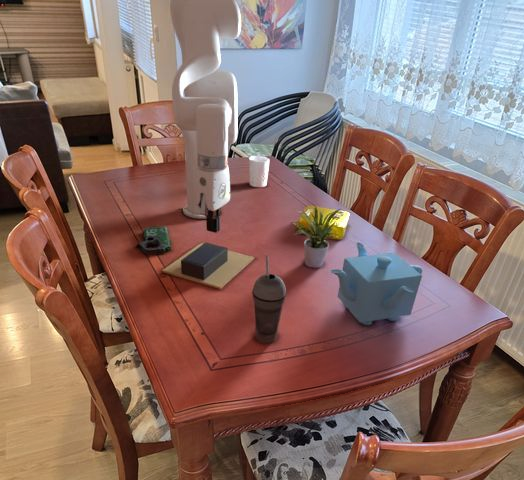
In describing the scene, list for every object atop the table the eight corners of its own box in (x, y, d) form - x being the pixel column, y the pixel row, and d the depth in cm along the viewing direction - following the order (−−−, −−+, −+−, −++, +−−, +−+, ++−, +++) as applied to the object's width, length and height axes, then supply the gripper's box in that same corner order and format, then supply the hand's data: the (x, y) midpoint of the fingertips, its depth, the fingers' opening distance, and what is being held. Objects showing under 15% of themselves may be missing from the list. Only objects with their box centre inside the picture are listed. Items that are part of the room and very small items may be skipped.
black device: (205, 241, 132) (180, 260, 122) (227, 247, 130) (203, 266, 120) (206, 255, 134) (181, 273, 125) (227, 260, 132) (203, 280, 123)
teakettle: (415, 305, 120) (431, 252, 111) (399, 342, 107) (415, 286, 98) (345, 285, 126) (355, 234, 117) (321, 319, 112) (330, 264, 103)
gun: (134, 227, 145) (167, 225, 147) (135, 231, 145) (167, 230, 148) (136, 250, 132) (172, 248, 134) (137, 255, 133) (172, 253, 135)
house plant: (313, 246, 144) (320, 194, 134) (348, 263, 137) (358, 208, 127) (281, 259, 136) (286, 205, 126) (317, 278, 128) (325, 221, 118)
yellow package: (305, 216, 163) (307, 203, 160) (348, 223, 160) (350, 210, 157) (296, 233, 151) (297, 219, 148) (342, 241, 149) (344, 226, 146)
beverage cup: (271, 350, 102) (278, 268, 89) (243, 338, 104) (246, 257, 92) (287, 334, 107) (296, 255, 94) (260, 323, 109) (266, 245, 97)
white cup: (267, 188, 184) (269, 162, 177) (247, 187, 183) (248, 161, 177) (267, 182, 190) (269, 156, 184) (248, 180, 190) (249, 155, 183)
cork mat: (200, 244, 141) (200, 242, 140) (254, 259, 135) (254, 257, 135) (162, 272, 126) (162, 270, 126) (220, 289, 121) (220, 287, 120)
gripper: (210, 171, 109) (211, 244, 120) (239, 156, 119) (238, 224, 131) (183, 165, 111) (186, 237, 122) (214, 151, 122) (214, 218, 133)
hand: (213, 230), depth 126 cm, fingers closed
